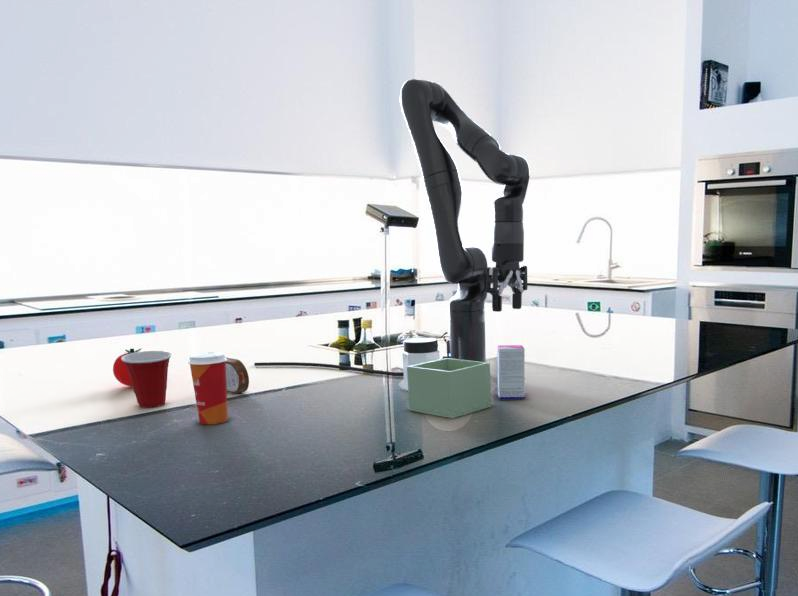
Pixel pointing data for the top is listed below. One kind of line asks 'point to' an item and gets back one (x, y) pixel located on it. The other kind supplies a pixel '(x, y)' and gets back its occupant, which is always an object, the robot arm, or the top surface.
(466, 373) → the mint green storage bin
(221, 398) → the paper cup
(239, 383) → the tin
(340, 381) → the top surface
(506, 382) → the supplement box
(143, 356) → the plastic cup
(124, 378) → the tomato
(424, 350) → the jar
